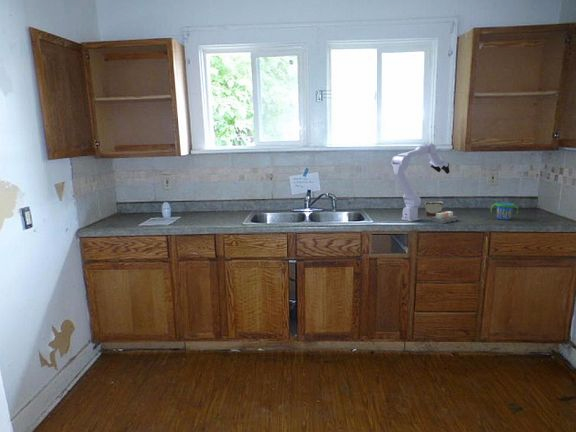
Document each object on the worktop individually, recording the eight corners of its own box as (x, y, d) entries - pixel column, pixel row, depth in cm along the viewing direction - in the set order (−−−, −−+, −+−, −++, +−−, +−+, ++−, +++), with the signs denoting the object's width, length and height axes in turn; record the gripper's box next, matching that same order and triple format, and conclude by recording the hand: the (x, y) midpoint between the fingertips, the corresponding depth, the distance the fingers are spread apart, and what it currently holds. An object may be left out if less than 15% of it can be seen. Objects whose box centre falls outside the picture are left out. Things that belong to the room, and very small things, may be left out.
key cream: (449, 217, 247) (449, 212, 246) (444, 217, 250) (445, 211, 249) (452, 217, 249) (453, 212, 248) (447, 216, 252) (448, 211, 251)
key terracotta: (444, 218, 245) (445, 213, 244) (440, 217, 248) (440, 212, 247) (448, 218, 246) (448, 212, 246) (443, 217, 249) (443, 212, 249)
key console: (442, 223, 240) (443, 219, 239) (430, 221, 247) (430, 217, 247) (457, 220, 248) (457, 216, 247) (445, 218, 255) (445, 214, 254)
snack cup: (517, 218, 251) (518, 203, 249) (517, 221, 242) (519, 205, 240) (490, 216, 258) (491, 201, 256) (489, 219, 249) (490, 204, 247)
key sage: (440, 219, 242) (440, 214, 242) (435, 218, 245) (435, 213, 244) (443, 219, 244) (444, 213, 243) (439, 218, 247) (439, 212, 246)
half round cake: (440, 214, 266) (441, 200, 264) (442, 216, 260) (443, 202, 258) (421, 214, 268) (422, 200, 266) (423, 216, 262) (424, 202, 260)
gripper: (447, 154, 248) (456, 169, 254) (430, 152, 261) (439, 166, 267) (440, 162, 247) (449, 176, 253) (424, 160, 260) (433, 173, 266)
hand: (443, 172), depth 260 cm, fingers open, 7 cm apart
